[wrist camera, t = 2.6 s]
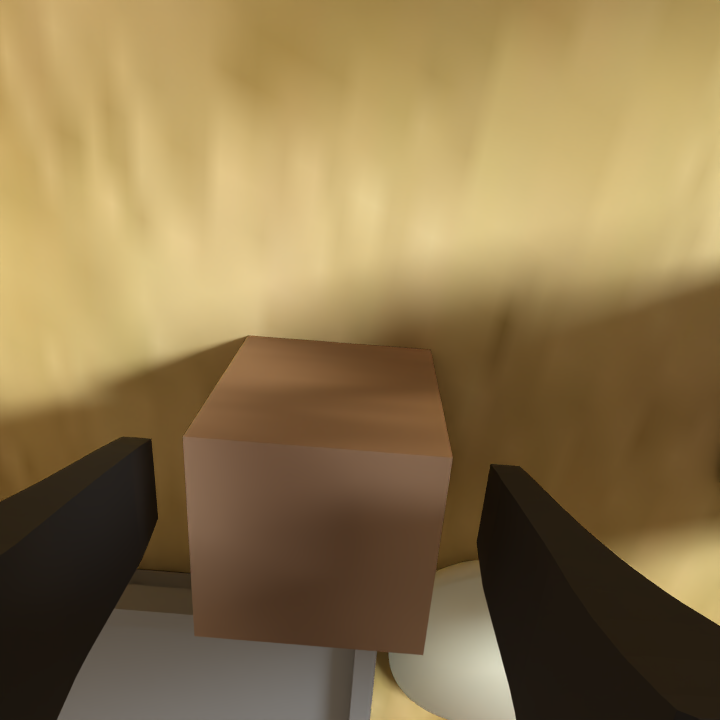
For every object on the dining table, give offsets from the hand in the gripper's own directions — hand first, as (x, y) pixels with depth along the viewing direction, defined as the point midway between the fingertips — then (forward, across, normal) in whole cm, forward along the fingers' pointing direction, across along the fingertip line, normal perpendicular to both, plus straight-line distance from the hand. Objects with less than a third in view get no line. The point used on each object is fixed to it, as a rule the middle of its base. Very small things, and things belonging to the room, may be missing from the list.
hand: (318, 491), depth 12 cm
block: (+3, 0, 0) cm, 3 cm away
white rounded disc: (+3, -5, +7) cm, 9 cm away
